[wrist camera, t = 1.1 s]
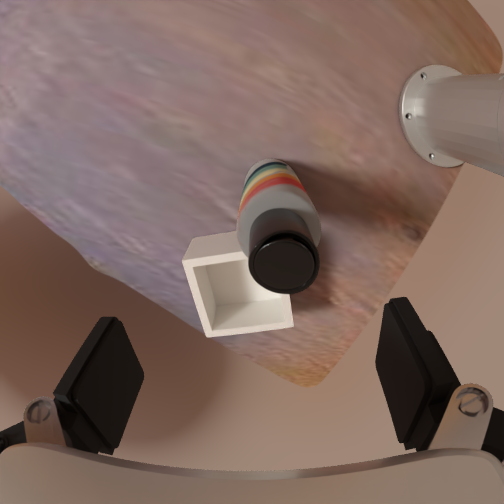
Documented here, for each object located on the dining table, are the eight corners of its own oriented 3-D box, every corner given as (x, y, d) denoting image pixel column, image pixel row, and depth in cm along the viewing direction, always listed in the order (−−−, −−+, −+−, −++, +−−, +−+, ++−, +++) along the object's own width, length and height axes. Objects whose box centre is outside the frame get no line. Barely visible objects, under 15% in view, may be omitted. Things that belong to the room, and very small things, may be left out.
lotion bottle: (307, 178, 34) (360, 258, 16) (275, 217, 36) (291, 329, 18) (265, 147, 33) (275, 192, 15) (234, 188, 35) (208, 278, 17)
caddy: (278, 224, 36) (282, 245, 31) (289, 298, 41) (293, 326, 35) (192, 238, 37) (182, 260, 32) (212, 308, 41) (206, 337, 36)
